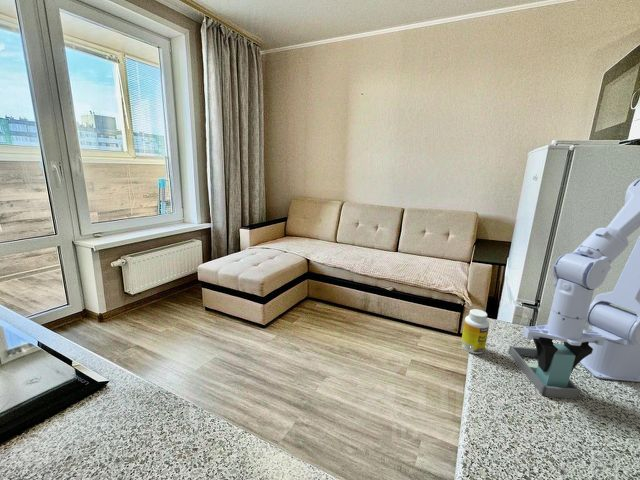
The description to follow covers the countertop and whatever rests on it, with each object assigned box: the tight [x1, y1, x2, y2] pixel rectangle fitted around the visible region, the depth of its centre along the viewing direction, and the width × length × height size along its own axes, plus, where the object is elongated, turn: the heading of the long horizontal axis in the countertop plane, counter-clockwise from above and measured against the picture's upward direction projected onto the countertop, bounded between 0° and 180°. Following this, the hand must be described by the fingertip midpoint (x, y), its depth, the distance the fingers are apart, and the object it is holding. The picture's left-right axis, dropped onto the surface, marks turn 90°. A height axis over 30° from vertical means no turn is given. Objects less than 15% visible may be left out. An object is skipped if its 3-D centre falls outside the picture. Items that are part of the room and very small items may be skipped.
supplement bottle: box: [460, 308, 490, 355], centre depth 77 cm, size 6×6×10 cm
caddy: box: [508, 345, 582, 400], centre depth 69 cm, size 7×14×2 cm, turn 174°
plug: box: [536, 343, 575, 388], centre depth 65 cm, size 4×4×8 cm
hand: (553, 369), depth 65 cm, fingers closed on plug, 4 cm apart
